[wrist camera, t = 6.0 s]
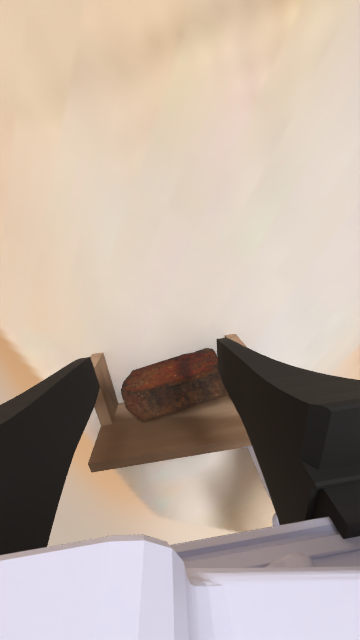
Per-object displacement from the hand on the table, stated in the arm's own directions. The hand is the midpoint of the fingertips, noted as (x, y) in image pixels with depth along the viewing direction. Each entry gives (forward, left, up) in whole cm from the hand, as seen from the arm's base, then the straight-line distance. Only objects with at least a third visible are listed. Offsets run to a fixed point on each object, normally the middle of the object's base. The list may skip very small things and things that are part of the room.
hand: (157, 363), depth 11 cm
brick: (-8, 0, -10) cm, 13 cm away
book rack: (-8, 0, -10) cm, 13 cm away
